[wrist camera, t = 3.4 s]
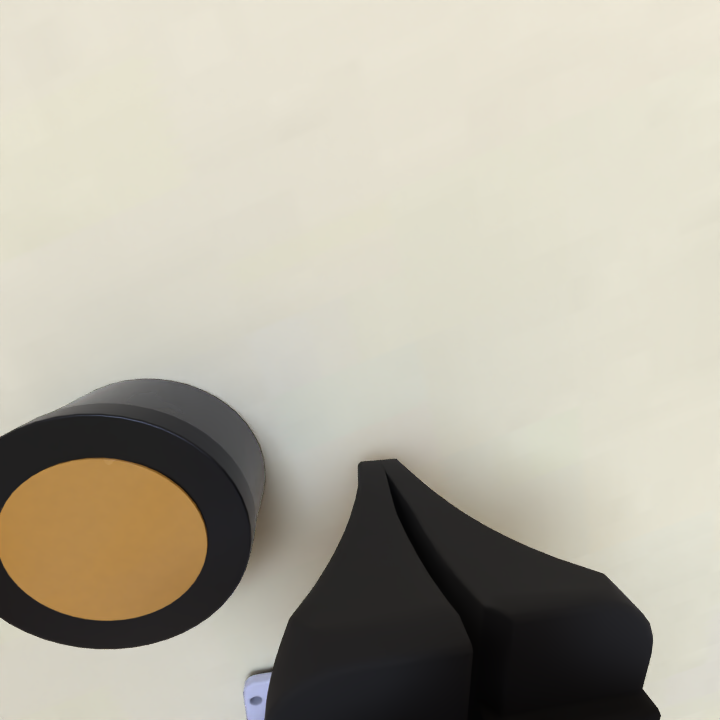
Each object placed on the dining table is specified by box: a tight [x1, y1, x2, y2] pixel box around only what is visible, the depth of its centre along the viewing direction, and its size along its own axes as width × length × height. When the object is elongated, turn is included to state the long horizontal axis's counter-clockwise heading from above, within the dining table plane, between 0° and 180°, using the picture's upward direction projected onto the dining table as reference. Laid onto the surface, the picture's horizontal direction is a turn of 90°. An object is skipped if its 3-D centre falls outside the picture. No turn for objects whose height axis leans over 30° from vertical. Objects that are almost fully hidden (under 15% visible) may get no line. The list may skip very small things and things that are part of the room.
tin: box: [0, 379, 265, 649], centre depth 11 cm, size 8×8×3 cm
